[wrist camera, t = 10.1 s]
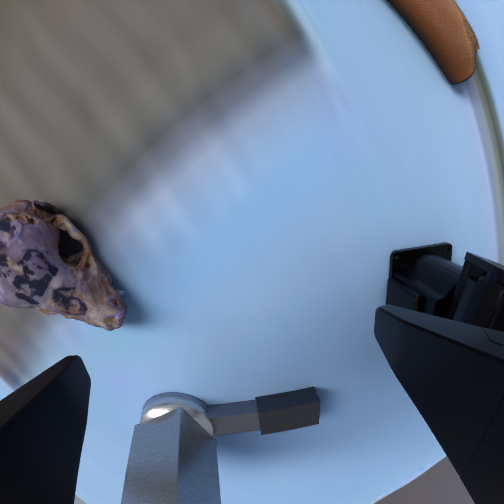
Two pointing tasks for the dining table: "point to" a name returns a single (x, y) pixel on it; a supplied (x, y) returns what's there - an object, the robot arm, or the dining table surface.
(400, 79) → the dining table surface
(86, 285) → the skull
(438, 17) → the sunglasses case
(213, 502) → the socket
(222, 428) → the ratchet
